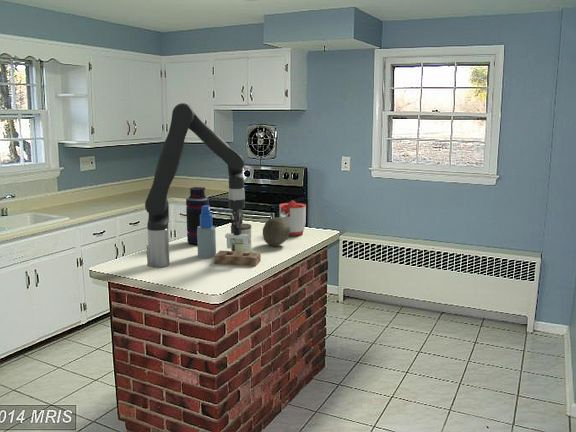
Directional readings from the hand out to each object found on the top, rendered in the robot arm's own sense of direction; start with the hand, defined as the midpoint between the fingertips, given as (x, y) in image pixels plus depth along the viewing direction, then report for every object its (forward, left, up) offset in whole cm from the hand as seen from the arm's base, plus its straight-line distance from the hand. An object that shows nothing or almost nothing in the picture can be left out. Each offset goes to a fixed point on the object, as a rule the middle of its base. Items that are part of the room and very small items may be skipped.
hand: (237, 234), depth 256 cm
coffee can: (-3, +17, -14) cm, 22 cm away
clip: (0, 0, -7) cm, 7 cm away
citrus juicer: (+14, +63, -14) cm, 66 cm away
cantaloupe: (+11, +35, -14) cm, 39 cm away
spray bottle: (-18, +8, -14) cm, 24 cm away
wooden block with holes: (0, 0, -14) cm, 14 cm away
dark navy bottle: (-31, +33, -14) cm, 47 cm away
